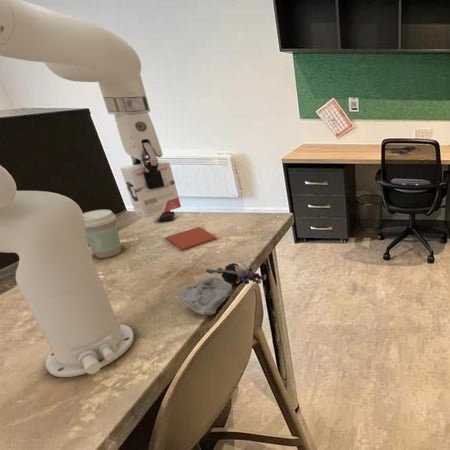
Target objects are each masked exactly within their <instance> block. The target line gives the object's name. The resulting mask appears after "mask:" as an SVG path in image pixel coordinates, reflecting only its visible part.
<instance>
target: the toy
mask: <svg viewBox="0 0 450 450" xmlns="http://www.w3.org/2000/svg"><path fill="white" fill-rule="evenodd" d="M238 263H239V264H241V265H239V264H238ZM238 263H235V262H232V263H229V264H227V265H226V266H224V268H223V267H217V269H213V268H212V269H210V268H206V270H205V272H206V273H208V274H210V275H213V274H215V273H217V274H219V275H221V276H222V277H221V278H222V279H223V281H226V282H227V283H235V284H239V283H241V281H242V282H243V283H244V284H245V285H246V284H247V285H249V284H250V282H252V283H253V282H256V283H255V284H258V285H260V284H261V283H262V281H266V279H267V274H264V275H261V274H259V273H258V272H254V270H253V269H252V268H251V267H249V266H248V265H247V264H246V263H245V262H243V260H240V261H238Z"/></svg>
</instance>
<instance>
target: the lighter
mask: <svg viewBox="0 0 450 450" xmlns="http://www.w3.org/2000/svg"><path fill="white" fill-rule="evenodd" d="M175 216H176V214H175V212H174V211H172V210H170V211H167V212H164V213H161V214H160V216H159V217H157V218H156V222H160V223H163V222H166V221H170V220H172V219H174V217H175Z"/></svg>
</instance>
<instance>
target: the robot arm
mask: <svg viewBox="0 0 450 450" xmlns="http://www.w3.org/2000/svg"><path fill="white" fill-rule="evenodd" d="M0 57H6V58H11V59H17V60H22V61H28V62H37V63H44V65H45V66H46V67H47V68H48V70H49V71H51V72H52V73H53V74H54V75H56V76H58V77H59V78H61V79H64V80H67V81H71V82H77V83H78V82H80V83H98V86H99V90H100V92H101V95H102V98H103V99H102V100H103V101H104V105H105V107H106V111H107V114H109V115H113V116H114V119H115V124H116V127H117V131H118V134H119V138H120V140H121V144H122V147H123V149H124V151H125V154H127V155H128V156H130V158H131V159H130V160H131V162H132V163H131V164H132V165H137V164H142V166H143V168H144V171H145V172H144V177H145V180H146V183H147V187H148V189H155V188H160V187H164V183H163V179H162V176H161V172H160V168H159V165H158V161H159V158H162V157H163V151H162V147H161V144H160V140H159V138H158V135H157V132H156V129H155V126H154V123H153V121H152V119H151V117H150V113H151V109H150V104H149V101H148V96H147V94H146V89H145V86H144V83H143V78H142V75H141V72H142V63H141V60H140V57H139V55H138V53H137V51H136V50H135V49H134V48H133V46H132V45H130V44H129V43H128V42H127V41H126V40H124V38H122V37H120V36H118V35H117V34H115V33H113V32H112V31H110V30H109V29H106V28H104V27H102V26H100V25H98V24H96V23H93V22H91V21H88V20H86V19H82V18H80V17H77V16H73V15H69V14H66V13H62V12H61V11H57V10H55V9H50V8H47V7H45V6H42V5H38V4H35V3H32V2H28V1H25V0H0ZM146 163H147V165H146ZM83 213H84V212H83V210H82V209H81V207H80V205H79V204H78V203H76V202H75V201H74V200H73V199H72V198H70V197H68V196H66V195H63V194H60V193H56V192H51V191H44V190H43V191H42V190H17V185H16V181H15V179H14V178H13V175H12V174H10V173H9V172H8V170H7V169H6V168H5V167H3V165H1V164H0V253H7V254H9V253H11V254H12V253H13V254H17V256H18V258H19V259H18V260H19V261H18V263H17V268H16V270H15V281H16V285H17V288H18V290H19V292H20V293H21V295H22V297H23V299H24V300H25V303H26V305H27V306H28V308H29V310H30V312H31V314H32V316H33V317H34V320H35V321H36V324H37V325H38V327H39V329H40V331H41V333H42V334H43V337H44V339H45V340H46V342H47V344H48V346H49V348H50V350H51V352H50V354H49V355H48V356H47V358H46V360H45V367H46V368H45V369H46V370H47V372H48V373H49V374H50V375H52V376H54V377H59V378H70V377H78V376H81V375H85V374H88V375H94V374H96V373H97V372H99V371H100V370H101V368H104V367H106V366H107V365H109V364H111V363H112V362H114V361H116V360H117V359H119V358H120V357H122V355H123V354H125V353H126V351H127V350H129V348H130V347H131V346H132V345H133V342H134V339H135V333H134V331H133V329H132V327H130V326H128V325H126V324H123V323H119V322H118V319H117V316H116V314H115V312H114V309H113V307H112V305H111V302H110V299H109V297H108V295H107V292H106V289H105V287H104V285H103V282H102V279H101V277H100V275H99V272H98V269H97V267H96V265H95V262H94V259H93V257H92V254H91V250H90V248H89V247H90V246H89V243H88V242H87V238H86V230H85V221H84V216H83Z"/></svg>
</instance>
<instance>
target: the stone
mask: <svg viewBox="0 0 450 450" xmlns="http://www.w3.org/2000/svg"><path fill="white" fill-rule="evenodd" d="M232 290H233V285H232V284H231V282H226V281H225V280H221V279H219V278H217V277H213V276H212V277H210V278H206V279H204V280H202V281H200V282H198V283H197V284H194V285H189V286H187V287H185V288H184V290H183V291H182V294H181V295H180V300H181V302H182V304H183V305H184V306H186V307H187V308H189V309H190V310H192V311H193V312H195V313H196V314H200V315H202V316H207V315H208V316H212V315H215V314H216V313H217V310H218V308H219V307H220V306H221V305H222V304H223V303H224V302H225V301H226V300H227V298H228V297H229V296H230V295H231V293H232Z"/></svg>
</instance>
